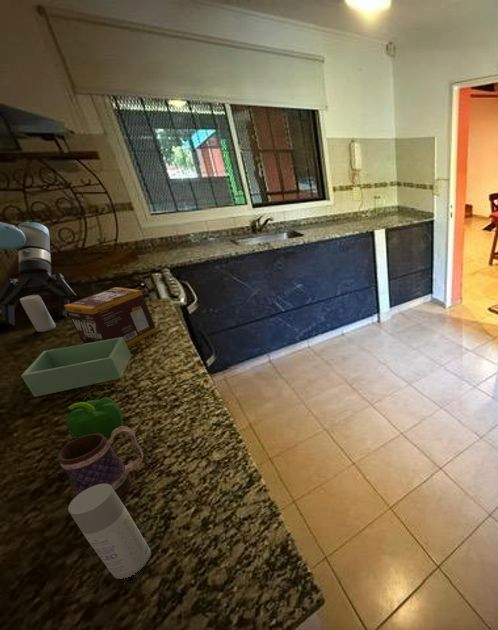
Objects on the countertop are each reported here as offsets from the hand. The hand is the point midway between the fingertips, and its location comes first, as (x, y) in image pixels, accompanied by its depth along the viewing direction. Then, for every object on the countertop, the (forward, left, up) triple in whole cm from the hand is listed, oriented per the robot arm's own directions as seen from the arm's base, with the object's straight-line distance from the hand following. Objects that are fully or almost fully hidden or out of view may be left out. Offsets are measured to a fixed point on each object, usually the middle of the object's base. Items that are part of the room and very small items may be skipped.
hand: (37, 320), depth 114 cm
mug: (+38, -85, -5) cm, 93 cm away
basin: (+21, -37, -5) cm, 43 cm away
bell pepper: (+32, -68, -5) cm, 75 cm away
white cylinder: (0, +2, -5) cm, 5 cm away
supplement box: (+26, -19, -5) cm, 32 cm away
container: (+43, -102, -5) cm, 110 cm away
